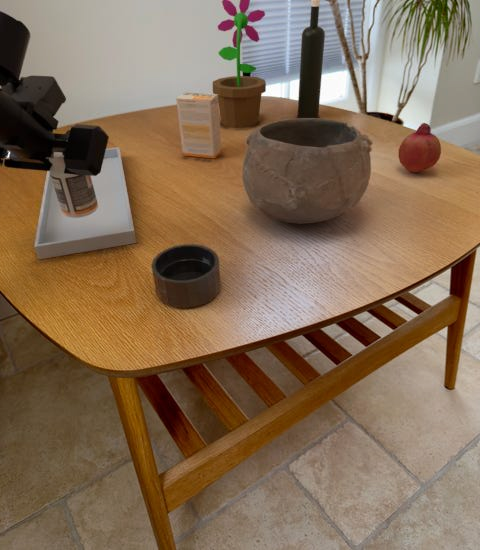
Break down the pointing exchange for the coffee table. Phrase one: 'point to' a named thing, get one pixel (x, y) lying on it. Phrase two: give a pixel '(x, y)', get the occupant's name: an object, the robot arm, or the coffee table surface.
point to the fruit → (420, 150)
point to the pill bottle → (72, 190)
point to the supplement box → (199, 124)
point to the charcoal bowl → (186, 275)
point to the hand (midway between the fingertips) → (75, 170)
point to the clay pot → (306, 169)
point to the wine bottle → (311, 66)
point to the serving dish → (92, 228)
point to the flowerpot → (239, 89)
